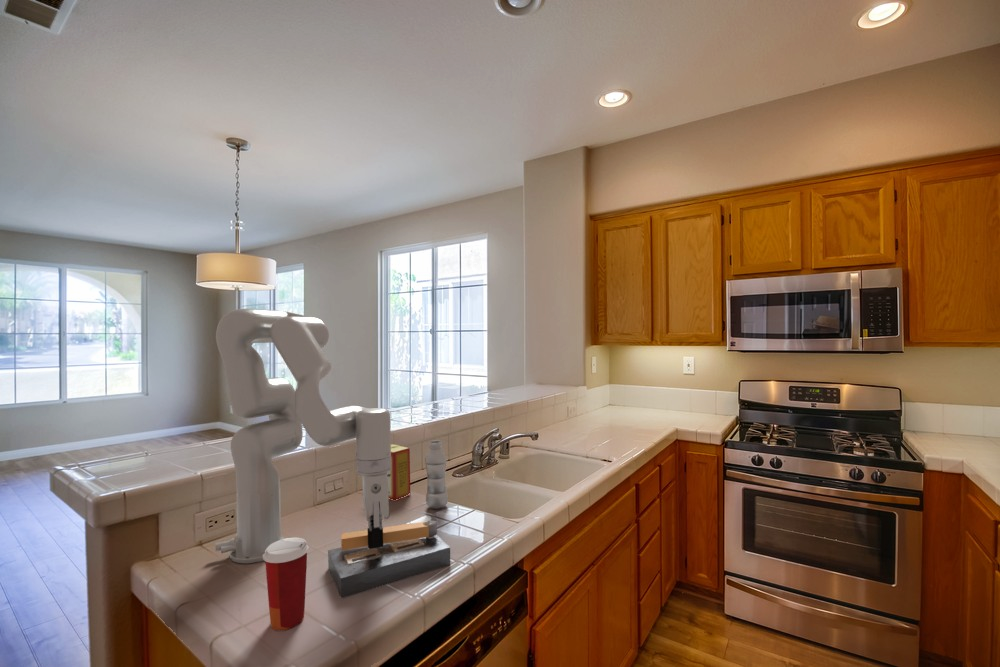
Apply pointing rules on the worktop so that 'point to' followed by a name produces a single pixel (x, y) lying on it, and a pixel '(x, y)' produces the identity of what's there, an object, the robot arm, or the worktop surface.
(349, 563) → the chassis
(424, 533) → the light orange bar
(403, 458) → the red and yellow box
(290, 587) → the paper cup
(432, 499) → the plastic bottle
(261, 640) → the worktop surface
